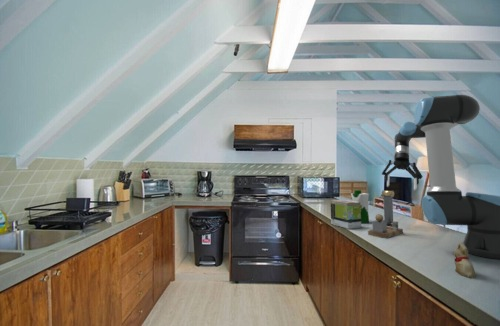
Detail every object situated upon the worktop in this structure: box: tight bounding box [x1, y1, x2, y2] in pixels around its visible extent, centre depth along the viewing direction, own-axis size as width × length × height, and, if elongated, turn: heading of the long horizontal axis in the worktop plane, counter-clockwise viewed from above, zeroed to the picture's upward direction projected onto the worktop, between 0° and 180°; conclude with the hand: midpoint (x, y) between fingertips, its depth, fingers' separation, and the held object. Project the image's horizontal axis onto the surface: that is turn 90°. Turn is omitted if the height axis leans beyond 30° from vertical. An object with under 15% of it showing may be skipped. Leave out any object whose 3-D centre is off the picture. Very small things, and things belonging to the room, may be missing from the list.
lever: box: [381, 190, 395, 224], centre depth 137 cm, size 3×5×17 cm, turn 35°
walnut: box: [374, 213, 384, 222], centre depth 131 cm, size 4×4×4 cm
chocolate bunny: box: [453, 241, 476, 279], centre depth 84 cm, size 6×8×10 cm
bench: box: [367, 219, 404, 239], centre depth 134 cm, size 17×9×6 cm, turn 125°
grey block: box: [372, 219, 387, 233], centre depth 131 cm, size 4×5×5 cm
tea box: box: [330, 199, 362, 230], centre depth 155 cm, size 15×10×15 cm
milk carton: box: [350, 189, 370, 225], centre depth 164 cm, size 9×9×20 cm
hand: (401, 187), depth 146 cm, fingers open, 13 cm apart
